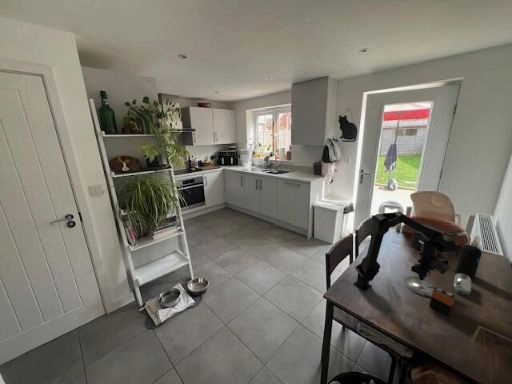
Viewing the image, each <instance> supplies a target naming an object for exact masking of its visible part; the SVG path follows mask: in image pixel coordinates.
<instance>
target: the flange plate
mask: <svg viewBox="0 0 512 384" xmlns="http://www.w3.org/2000/svg"><path fill="white" fill-rule="evenodd" d="M404 285H405V287H406V288H408V290H410V291H411V292H413V293H415V294H417V295H420V296H423V297H426V298H431V297H432V293H433V290H434V289H435V288H436V287H437V286H436V285H435V284H434V283H432V282H431V281H429V280H427V279H426V278H425V279H424V280H423V281H422V280H420V278H419V276H407V277H405V279H404Z"/></svg>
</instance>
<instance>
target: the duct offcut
mask: <svg viewBox="0 0 512 384" xmlns="http://www.w3.org/2000/svg"><path fill="white" fill-rule="evenodd" d="M452 286H453V289H454V291H455V292H457V293H458V294H460V295H463V296H465V295H469V294H471V291H472V279H471V278H470V277H469V276H467V275H466V274H462V273H459V274H456V273H455V276H454V281H453V285H452Z"/></svg>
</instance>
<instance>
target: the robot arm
mask: <svg viewBox="0 0 512 384" xmlns="http://www.w3.org/2000/svg"><path fill="white" fill-rule="evenodd" d="M399 224H404V225H406V226H408V227H409V228H411V229H413V230H415V231H417V233H421V234H422V235H423V236H425V237H426V238H428V239H429V240H425V239H422V240H419V241H418V242H419V243H421V244H422V249H421V251H420V252H418V255H419V258H418V259H417V263H415V264H412V266H411V267H410V272H412V273H415V274H417V275H418V277H419V278H420V280H422V281H423V280H424V279H425V280H426V278H427V277H428V276H429V275H430V274H431V272H432V271H434V270H436V271H438V272H439V273H440V274H442V275H445V274H446V273H447V272H448V271H449V270H450V269H451V265H450V261H449V260H448V259H439V257H438V254H437V253H439V254H456V253H457V251H458V248H457V244H456V241H455V240H453V239H451V238H449V239H445V238H444V233H443V232H441V231H440V230H438V229H436V228H435V227H433V226H430V225H427V224H423V223H420V222H419V221H417V220H415V219H413V218H410V217H409V216H408V215H406V214H404V213H403V212H401V211H395V212H383V213H376V214H375V215H373V216H372V217H371V227H372V232H371V233H372V234H371V237H370V240H369V245H368V248H367V252H366V256H365V257H363V258H362V260H361V262H360V263H358V265H356V266H355V267H354V268H355V271H356V272H357V277H356V278H357V279H356V281H355V282H353V285H354V286H355V287H357V288H358V289H360V290H362V291H364V292H367V291H368V290H369V289H371V288H372V284H370V282H372V281H373V280H374V279H375V277H376V276H377V275H378V273H380V268H381V264H380V263H379V262H378V257H379V254H380V251H381V246H382V242H383V239H384V236H385V234H387V233H388V232H389V230H390V229H391V228H394V227H397V226H398V225H399Z"/></svg>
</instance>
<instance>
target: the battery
mask: <svg viewBox="0 0 512 384" xmlns="http://www.w3.org/2000/svg"><path fill="white" fill-rule="evenodd" d="M456 297H457V296H456V294H454V293H452V292H451V291H446V290H445V289H442V288H440V287H439V286H436V288H435V289H434V290H433V293H432V297H430V302H429V308H430V309H432V310H435V311H437V312H439V313H441V314H442V315H444V316H446V317H449V316H450V315H451V313H452V311H453V309H454V305H455V302H456V301H455V300H456Z"/></svg>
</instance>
